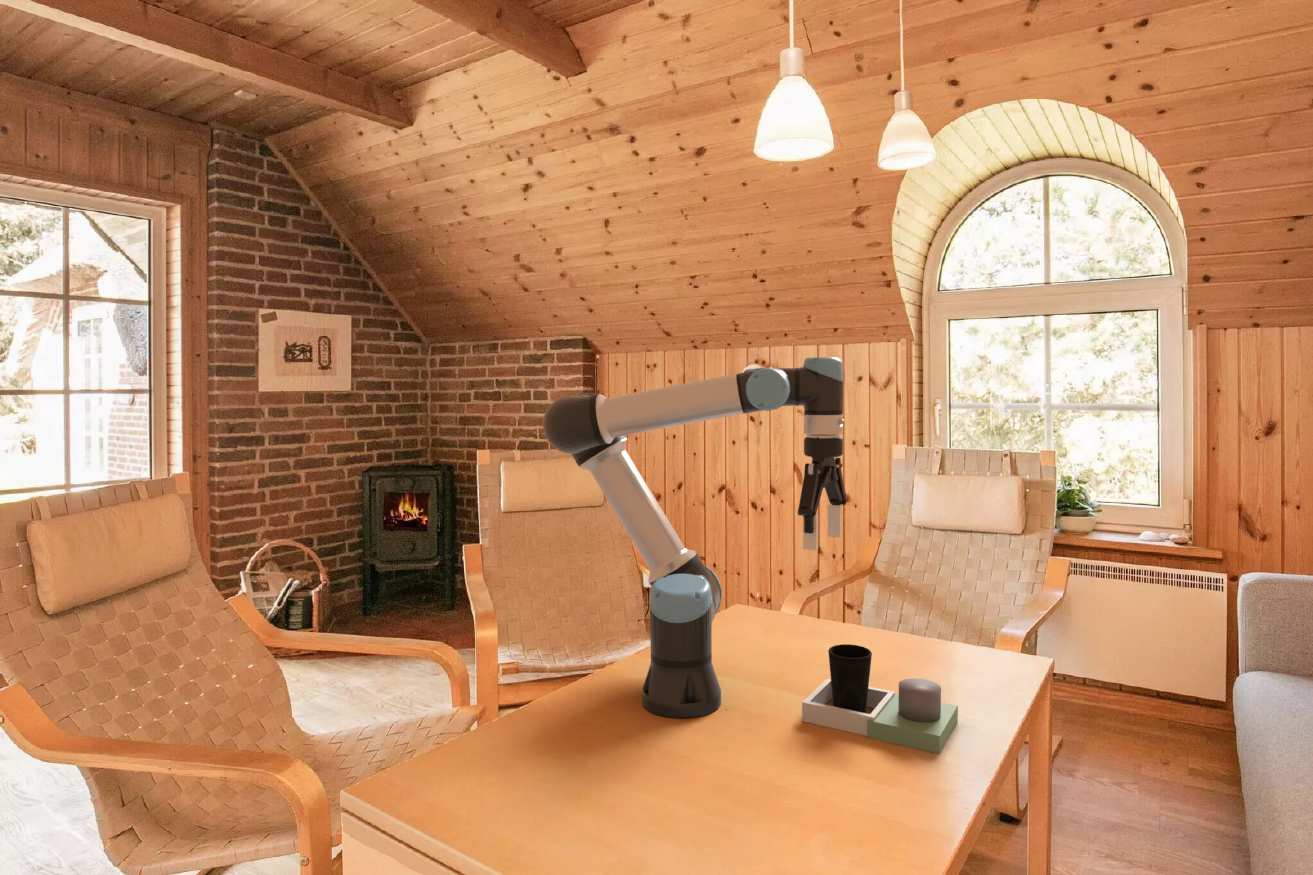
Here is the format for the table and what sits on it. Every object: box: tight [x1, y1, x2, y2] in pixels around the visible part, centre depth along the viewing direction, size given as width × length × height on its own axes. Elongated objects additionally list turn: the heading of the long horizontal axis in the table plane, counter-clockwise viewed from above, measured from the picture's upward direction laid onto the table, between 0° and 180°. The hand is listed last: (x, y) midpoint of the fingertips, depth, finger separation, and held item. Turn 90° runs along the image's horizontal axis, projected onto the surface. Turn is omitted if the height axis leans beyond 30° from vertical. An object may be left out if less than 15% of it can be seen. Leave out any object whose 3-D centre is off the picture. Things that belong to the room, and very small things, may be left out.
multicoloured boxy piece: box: [801, 678, 959, 755], centre depth 144 cm, size 24×14×8 cm, turn 58°
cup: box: [828, 643, 873, 714], centre depth 147 cm, size 8×8×12 cm
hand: (822, 543), depth 160 cm, fingers open, 13 cm apart
